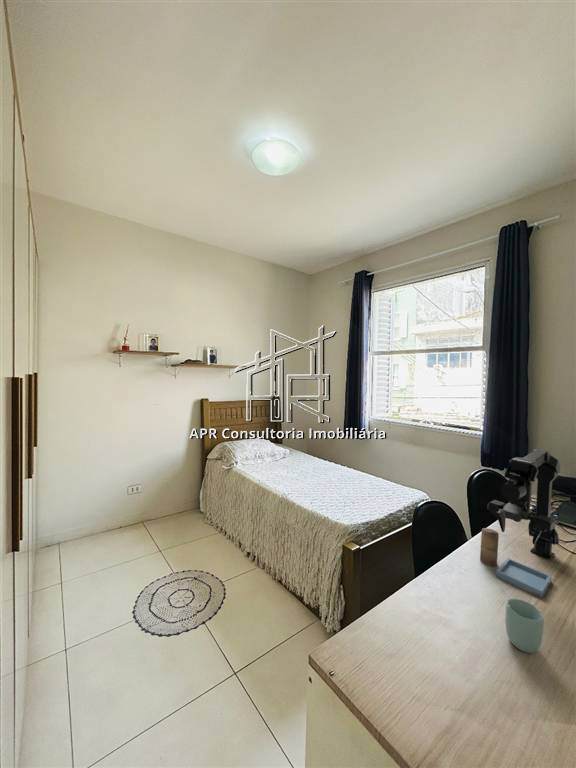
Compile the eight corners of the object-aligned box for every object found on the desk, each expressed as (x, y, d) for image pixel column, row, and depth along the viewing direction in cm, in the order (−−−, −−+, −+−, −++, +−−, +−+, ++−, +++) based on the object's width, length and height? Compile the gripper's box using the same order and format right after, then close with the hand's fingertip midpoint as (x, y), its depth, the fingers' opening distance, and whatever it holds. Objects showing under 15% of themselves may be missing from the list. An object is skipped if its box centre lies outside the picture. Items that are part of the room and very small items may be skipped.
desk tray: (507, 563, 118) (508, 557, 118) (551, 582, 108) (551, 576, 108) (496, 576, 110) (496, 570, 110) (541, 598, 100) (542, 591, 100)
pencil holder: (483, 556, 122) (485, 526, 122) (499, 563, 118) (501, 532, 117) (477, 560, 119) (479, 530, 119) (493, 568, 115) (495, 536, 114)
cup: (527, 634, 85) (530, 599, 85) (548, 660, 77) (551, 622, 77) (498, 631, 86) (500, 596, 85) (516, 656, 78) (518, 619, 78)
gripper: (481, 490, 112) (479, 531, 112) (546, 509, 96) (542, 558, 97) (495, 484, 118) (492, 524, 118) (557, 502, 103) (554, 547, 103)
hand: (517, 537), depth 109 cm, fingers open, 9 cm apart
